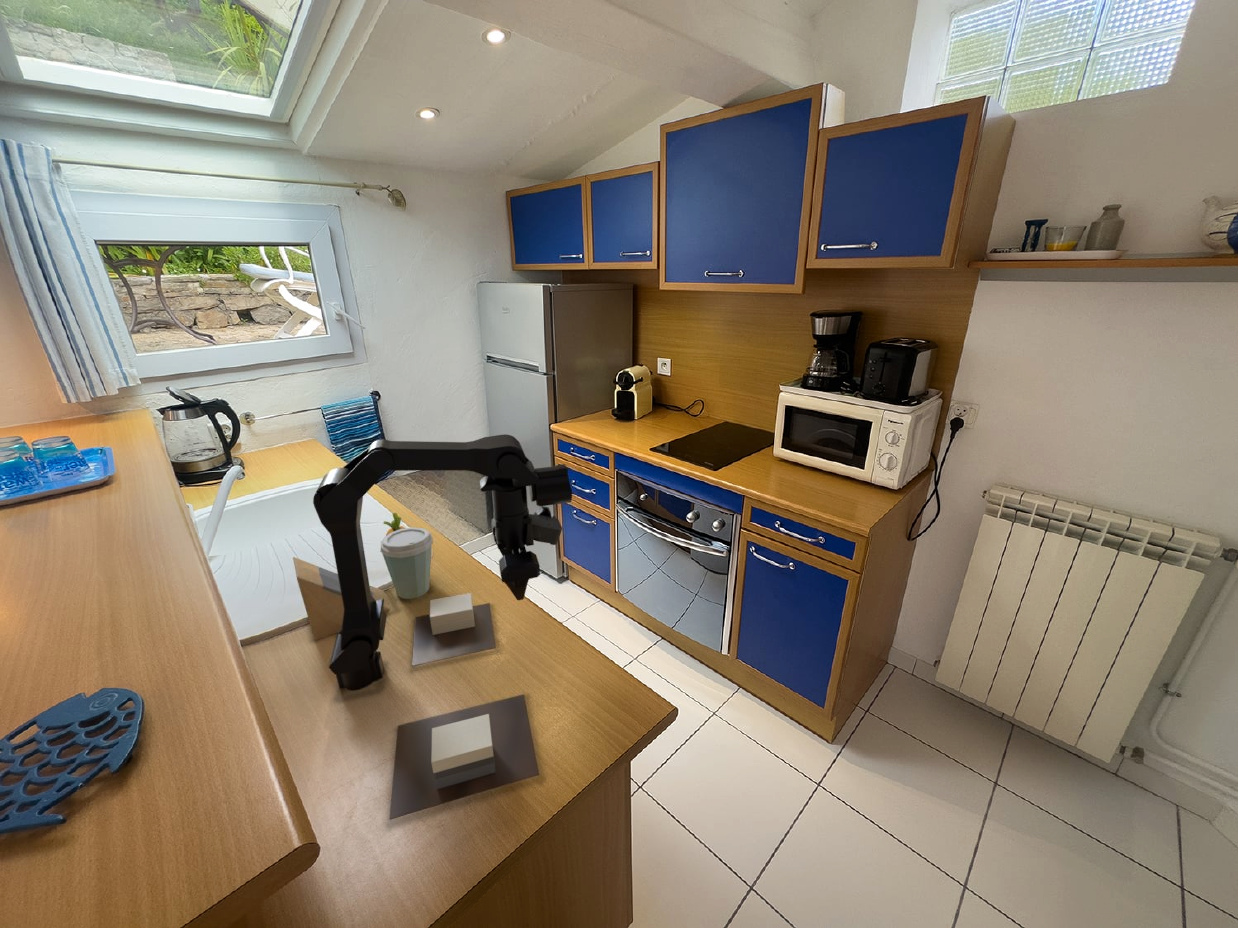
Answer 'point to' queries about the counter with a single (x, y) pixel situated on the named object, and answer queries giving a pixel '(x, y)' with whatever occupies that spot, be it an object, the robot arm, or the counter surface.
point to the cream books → (451, 613)
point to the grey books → (465, 772)
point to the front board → (511, 765)
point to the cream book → (461, 743)
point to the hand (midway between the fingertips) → (516, 584)
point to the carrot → (394, 524)
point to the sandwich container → (325, 598)
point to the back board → (453, 638)
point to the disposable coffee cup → (408, 560)
